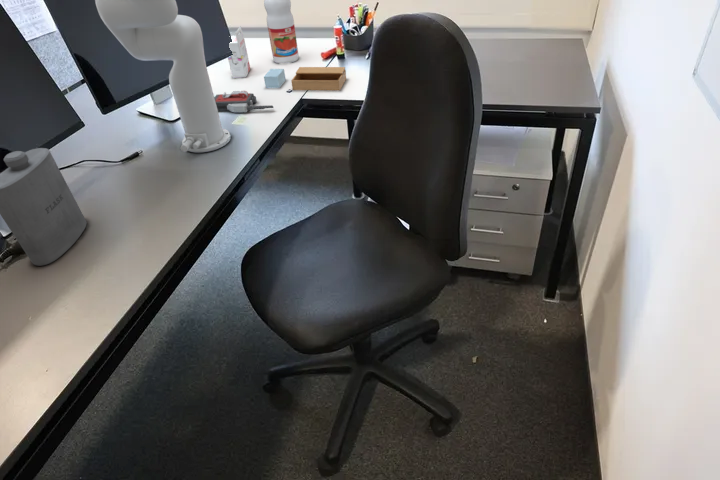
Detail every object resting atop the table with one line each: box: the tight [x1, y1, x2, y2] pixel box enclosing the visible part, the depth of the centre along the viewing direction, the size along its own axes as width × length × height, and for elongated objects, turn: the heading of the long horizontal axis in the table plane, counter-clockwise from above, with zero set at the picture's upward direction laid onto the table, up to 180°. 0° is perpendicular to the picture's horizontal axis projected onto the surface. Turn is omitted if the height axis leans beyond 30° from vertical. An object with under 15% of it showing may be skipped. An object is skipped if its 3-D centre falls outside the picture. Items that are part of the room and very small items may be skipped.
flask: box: [0, 147, 88, 267], centre depth 92 cm, size 15×6×20 cm, turn 175°
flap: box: [295, 66, 346, 75], centre depth 156 cm, size 5×15×1 cm, turn 79°
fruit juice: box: [263, 0, 299, 64], centre depth 169 cm, size 9×9×28 cm
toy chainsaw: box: [214, 90, 274, 113], centre depth 145 cm, size 9×4×20 cm
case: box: [263, 68, 287, 89], centre depth 158 cm, size 7×5×4 cm, turn 169°
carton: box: [290, 69, 347, 91], centre depth 155 cm, size 10×15×3 cm, turn 79°
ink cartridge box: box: [227, 25, 251, 79], centre depth 165 cm, size 9×5×15 cm, turn 179°
